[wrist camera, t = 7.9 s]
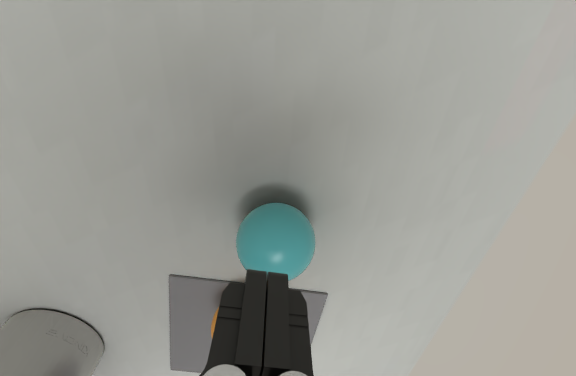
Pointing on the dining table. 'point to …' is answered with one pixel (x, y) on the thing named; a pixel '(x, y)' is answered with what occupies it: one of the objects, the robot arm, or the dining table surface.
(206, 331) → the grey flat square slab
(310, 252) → the teal cue ball
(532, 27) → the dining table surface
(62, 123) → the dining table surface
